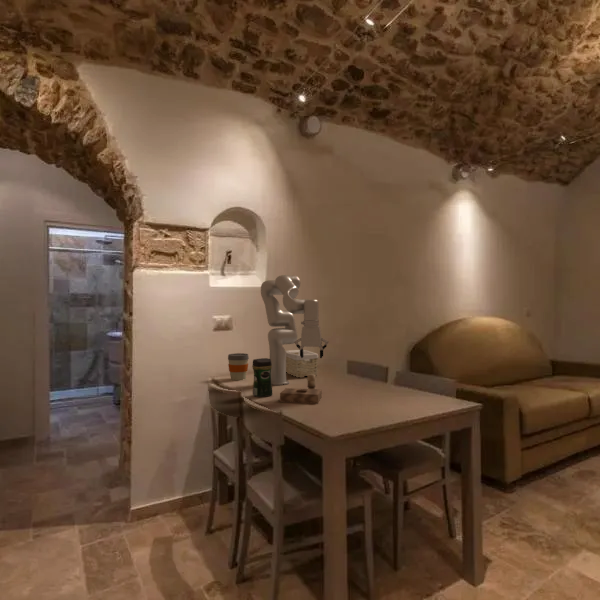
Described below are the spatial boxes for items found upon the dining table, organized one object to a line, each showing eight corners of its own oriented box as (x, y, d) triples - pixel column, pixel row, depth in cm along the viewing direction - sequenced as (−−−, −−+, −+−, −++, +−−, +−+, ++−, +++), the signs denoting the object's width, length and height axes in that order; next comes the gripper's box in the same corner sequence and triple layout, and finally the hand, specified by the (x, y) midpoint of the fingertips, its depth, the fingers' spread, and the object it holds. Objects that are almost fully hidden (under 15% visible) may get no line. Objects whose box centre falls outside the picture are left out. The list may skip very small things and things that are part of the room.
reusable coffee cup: (224, 380, 257) (224, 355, 257) (232, 377, 270) (232, 353, 270) (244, 381, 255) (244, 356, 255) (251, 377, 267) (251, 353, 267)
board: (280, 401, 202) (280, 393, 202) (285, 396, 214) (285, 388, 214) (318, 403, 198) (318, 394, 198) (321, 397, 210) (321, 389, 210)
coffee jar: (267, 393, 222) (267, 356, 222) (274, 395, 215) (274, 358, 215) (250, 395, 217) (250, 358, 217) (256, 398, 210) (256, 360, 210)
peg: (306, 395, 216) (306, 375, 216) (308, 393, 220) (308, 374, 220) (314, 395, 215) (314, 375, 215) (316, 393, 219) (315, 374, 219)
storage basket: (319, 376, 271) (319, 353, 271) (295, 378, 264) (295, 354, 264) (304, 371, 293) (304, 349, 293) (281, 372, 286) (281, 350, 286)
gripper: (293, 324, 216) (293, 358, 215) (327, 324, 212) (327, 358, 212) (296, 323, 223) (296, 356, 223) (329, 323, 220) (329, 357, 219)
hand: (311, 357), depth 217 cm, fingers open, 9 cm apart
